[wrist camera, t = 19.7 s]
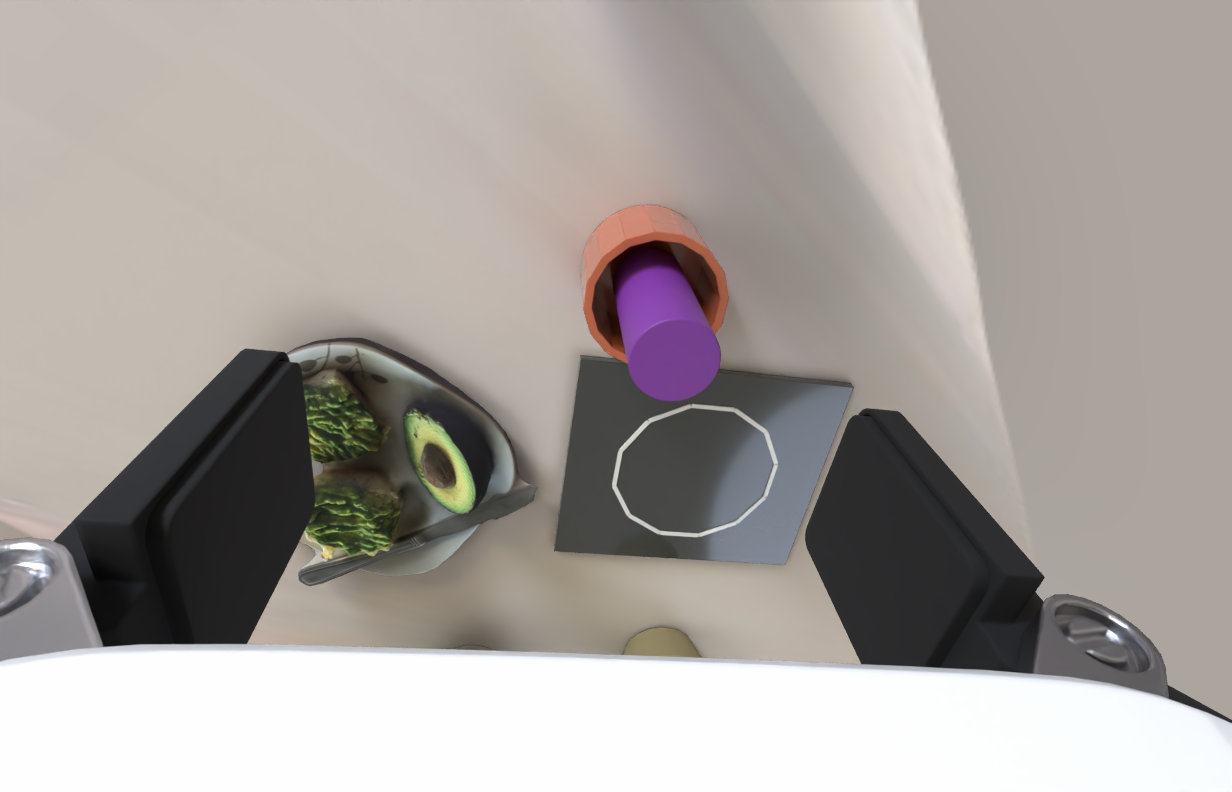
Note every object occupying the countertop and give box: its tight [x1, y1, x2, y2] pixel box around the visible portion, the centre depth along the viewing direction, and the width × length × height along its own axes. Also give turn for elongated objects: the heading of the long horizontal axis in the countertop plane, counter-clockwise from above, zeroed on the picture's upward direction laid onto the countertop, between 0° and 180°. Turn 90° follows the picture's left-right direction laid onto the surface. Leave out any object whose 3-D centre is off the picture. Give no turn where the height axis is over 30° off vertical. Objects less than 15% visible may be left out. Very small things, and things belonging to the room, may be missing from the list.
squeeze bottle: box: [623, 627, 701, 658], centre depth 46 cm, size 8×8×18 cm
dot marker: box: [612, 247, 721, 401], centre depth 32 cm, size 4×4×11 cm
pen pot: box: [581, 205, 729, 364], centre depth 34 cm, size 7×7×6 cm
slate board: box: [554, 355, 854, 565], centre depth 44 cm, size 16×18×1 cm
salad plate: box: [287, 338, 538, 586], centre depth 41 cm, size 19×18×5 cm
